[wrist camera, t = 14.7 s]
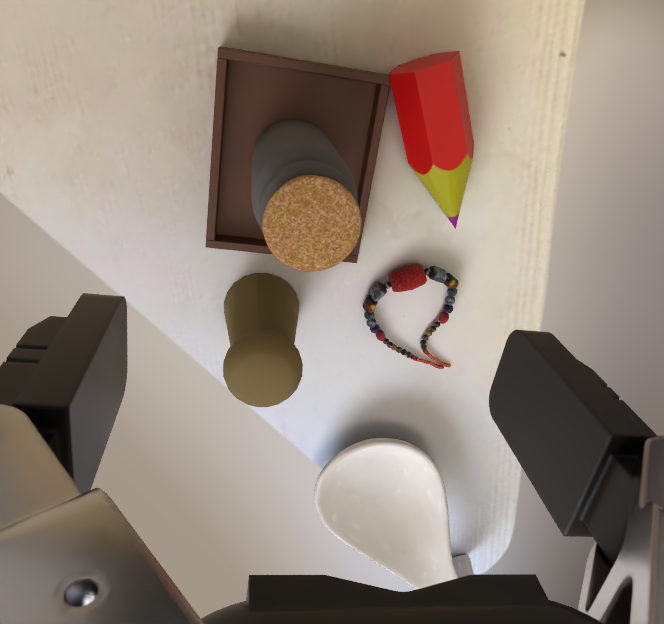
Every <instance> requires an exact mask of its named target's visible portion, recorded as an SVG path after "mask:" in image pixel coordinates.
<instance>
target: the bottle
mask: <svg viewBox="0 0 664 624" xmlns="http://www.w3.org/2000/svg"><path fill="white" fill-rule="evenodd" d="M251 197H252V207H253V211H254V215H255V218H256V220H257V222H258V224H259V226H260V227H261V230H262V232H263V234H264V237H265V240H266V243H267V245H268V247H269V249H270V250H271V252H272V253H273V254H274V256H275V257H276V258H277V259H279V260H280V261H281V262H283V263H284V264H285V265H287V266H289V267H291V268H294V269H297V270H302V271H321V270H324V269H328V268H331V267H333V266H335V265H337V264H338V263H340V262H341V261H342V260H344V259H345V258H346V257H347V256H348V255H349V254H350V253H351V251H352V250H353V248H354V247H355V245H356V243H357V241H358V238H359V236H360V231H361V214H360V210H359V204H358V199H357V189H356V184H355V181H354V178H353V176H352V174H351V172H350V170H349V168H348V167H347V165H346V163H345V162H344V160H343V159H342V157H341V156H340V154H339V153H338V152H337V150H336V149H335V147H334V146H333V144H332V143H331V141H330V140H329V139H328V137H327V136H326V135H325V134H324V133H323V132H322V131H321V130H320V129H319V128H318V127H316V126H315V125H313V124H311V123H309V122H307V121H303V120H298V119H289V120H283V121H280V122H277V123H275V124H273V125H272V126H270V127H269V128H267V129H266V130H265V131H264V132H263V133H262V135H261V136H260V138H259V139H258V141H257V143H256V145H255V148H254V152H253V159H252V187H251Z"/></svg>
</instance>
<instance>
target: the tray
mask: <svg viewBox="0 0 664 624" xmlns="http://www.w3.org/2000/svg"><path fill="white" fill-rule="evenodd" d="M389 85H390V78H389V75H386V74H382V73H376V72H370V71H364V70H358V69H352V68H346V67H340V66H334V65H328V64H322V63H316V62H310V61H304V60H298V59H292V58H286V57H280V56H274V55H268V54H262V53H256V52H250V51H244V50H239V49H233V48H227V47H219V48H218V59H217V74H216V90H215V106H214V122H213V138H212V154H211V170H210V186H209V202H208V219H207V235H206V247H208V248H218V249H227V250H237V251H247V252H256V253H266V254H273V253H272V252H271V250H270V249H269V247H268V245H267V243H266V240H265V237H264V234H263V232H262V230H261V227H260V226H259V224H258V222H257V220H256V218H255V215H254V211H253V207H252V197H251V187H252V159H253V152H254V148H255V145H256V143H257V141H258V139H259V138H260V136H261V135H262V133H263V132H264V131H265V130H266V129H267V128H269V127H270V126H272V125H273V124H275V123H277V122H280V121H283V120H289V119H298V120H303V121H307V122H309V123H311V124H313V125H315V126H316V127H318V128H319V129H320V130H321V131H322V132H323V133H324V134H325V135H326V136H327V137H328V139H329V140H330V141H331V143H332V144H333V146H334V147H335V149H336V150H337V152H338V153H339V154H340V156H341V157H342V159H343V160H344V162H345V163H346V165H347V167H348V168H349V170H350V172H351V174H352V176H353V178H354V181H355V184H356V189H357V199H358V204H359V210H360V214H361V231H360V236H359V238H358V241H357V243H356V245H355V247H354V248H353V250H352V251H351V253H350V254H349V255H348V256H347V257H346V258H345V259H344V260H342V261H343V262H352V263H357V259H358V254H359V248H360V243H361V238H362V232H363V227H364V222H365V216H366V211H367V206H368V200H369V195H370V189H371V184H372V179H373V173H374V168H375V163H376V157H377V152H378V147H379V141H380V136H381V131H382V125H383V120H384V114H385V109H386V104H387V98H388V93H389V88H390V86H389Z"/></svg>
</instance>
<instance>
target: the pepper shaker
mask: <svg viewBox="0 0 664 624" xmlns="http://www.w3.org/2000/svg"><path fill="white" fill-rule="evenodd" d="M298 311H299V301H298V298H297V295H296V292H295V291H294V290H293V288H292V287H291V285H290V284H289V283H287V282H286V281H285V280H283V279H282V278H280V277H278V276H275V275H271V274H265V273H256V274H252V275H249V276H245V277H243V278H242V279H240V280H239V281H237V282H235V283H234V285H233V286H232V287H231V288H230V290H229V291H228V293H227V295H226V298H225V301H224V313H225V319H226V324H227V329H228V335H229V340H230V345H231V347H230V348H229V350H228V351H227V354H226V357H225V359H224V365H223V373H224V379H225V381H226V384H227V386H228V389H229V390H230V392H231V393H232V394H233V395H234V396H235V397H236V398H237V399H239V400H241V401H242V402H244V403H246V404H248V405H252V406H255V407H269V406H273V405H277V404H279V403H281V402H282V401H284V400H286V399H287V398H289V397H290V396H291V395H292V394H293V393H294V392H295V390H296V389H297V387H298V385H299V383H300V380H301V377H302V366H303V365H302V360H301V357H300V354H299V351H298V349H297V348H296V347H295V345H294V342H295V334H296V327H297V320H298Z"/></svg>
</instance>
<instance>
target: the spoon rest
mask: <svg viewBox="0 0 664 624" xmlns="http://www.w3.org/2000/svg"><path fill="white" fill-rule="evenodd" d="M314 501H315V506H316V509H317V512H318V515H319V517H320V518H321V520H322V522H323V523H324V524H325V526H326V527H327V528H328V529H329V530H330V531H331V532H332V533H333V534H334V535H335V536H336V537H337V538H339V539H340V540H341V541H343V542H344V543H345V544H347V545H348V546H350V547H351V548H353V549H354V550H356V551H358V552H359V553H361V554H362V555H364V556H366V557H367V558H369V559H370V560H372V561H374V562H375V563H377V564H379V565H380V566H382V567H384V568H385V569H387V570H388V571H390V572H391V573H393V574H395V575H396V576H398V577H399V578H401V579H402V580H404V581H405V582H407V583H408V584H409V585H411V586H412V587H414V588H415V589H416V590H417V589H420V588H424V587H428V586H431V585H435V584H438V583H442V582H446V581H449V580H453V579H456V578H460V577H464V576H467V575H473V569H472V565H471V561H470V558H469V556H467V555H460V556H457V557H454V558H452V554H451V545H450V531H449V516H448V505H447V498H446V492H445V487H444V483H443V479H442V477H441V474H440V472H439V470H438V468H437V466H436V464H435V463H434V461H433V460H432V459H431V458H430V456H429V455H428V454H427V453H425V452H424V451H423V450H421V449H420V448H418V447H416V446H415V445H413V444H411V443H408V442H406V441H402V440H399V439H393V438H373V439H368V440H364V441H361V442H358V443H356V444H353V445H351V446H349V447H348V448H346V449H344V450H342V451H341V452H339V453H338V454H337V455H336V456H334V457H333V458H332V459H331V460H330V461H329V462H328V464H327V465H326V466H325V467H324V468H323V470H322V471H321V473H320V475H319V476H318V478H317V481H316V484H315V489H314Z"/></svg>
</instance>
